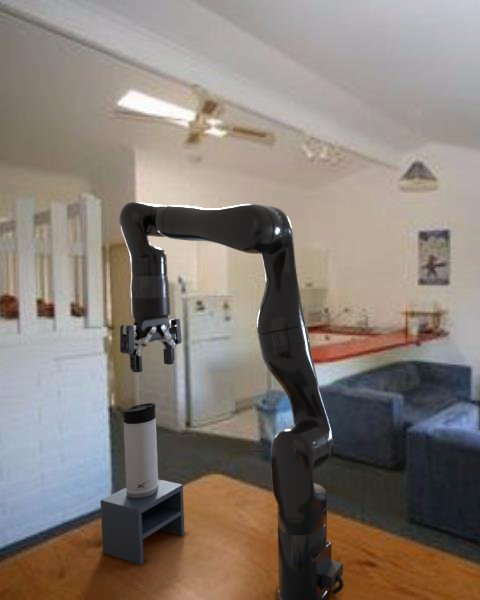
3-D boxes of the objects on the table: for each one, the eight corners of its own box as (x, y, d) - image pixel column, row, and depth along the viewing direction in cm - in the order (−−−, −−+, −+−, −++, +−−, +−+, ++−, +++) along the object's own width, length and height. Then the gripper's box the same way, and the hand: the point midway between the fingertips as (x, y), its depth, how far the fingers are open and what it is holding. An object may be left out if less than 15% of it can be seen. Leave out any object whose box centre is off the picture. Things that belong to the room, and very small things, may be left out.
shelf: (184, 534, 111) (182, 484, 110) (140, 564, 100) (138, 509, 99) (149, 524, 115) (147, 476, 114) (102, 553, 104) (100, 500, 103)
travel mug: (146, 500, 103) (142, 410, 101) (119, 497, 104) (115, 408, 103) (166, 487, 109) (162, 401, 107) (140, 484, 110) (137, 399, 109)
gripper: (135, 298, 97) (139, 376, 98) (188, 293, 110) (191, 362, 112) (108, 297, 100) (112, 373, 101) (163, 292, 113) (166, 360, 114)
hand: (153, 367), depth 106 cm, fingers open, 8 cm apart
